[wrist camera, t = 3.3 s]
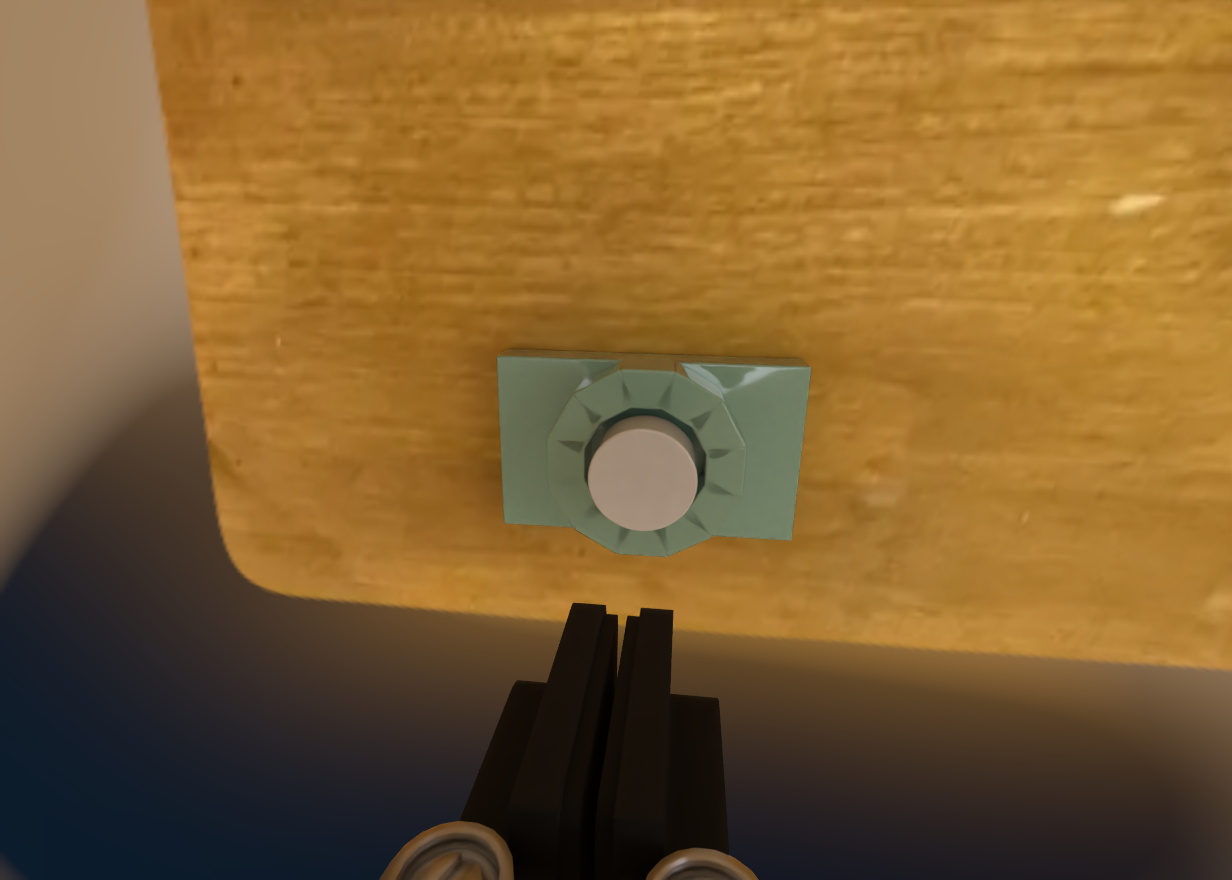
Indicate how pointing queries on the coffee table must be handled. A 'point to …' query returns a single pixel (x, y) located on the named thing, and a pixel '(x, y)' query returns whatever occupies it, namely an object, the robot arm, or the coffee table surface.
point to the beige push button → (643, 473)
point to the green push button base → (663, 387)
